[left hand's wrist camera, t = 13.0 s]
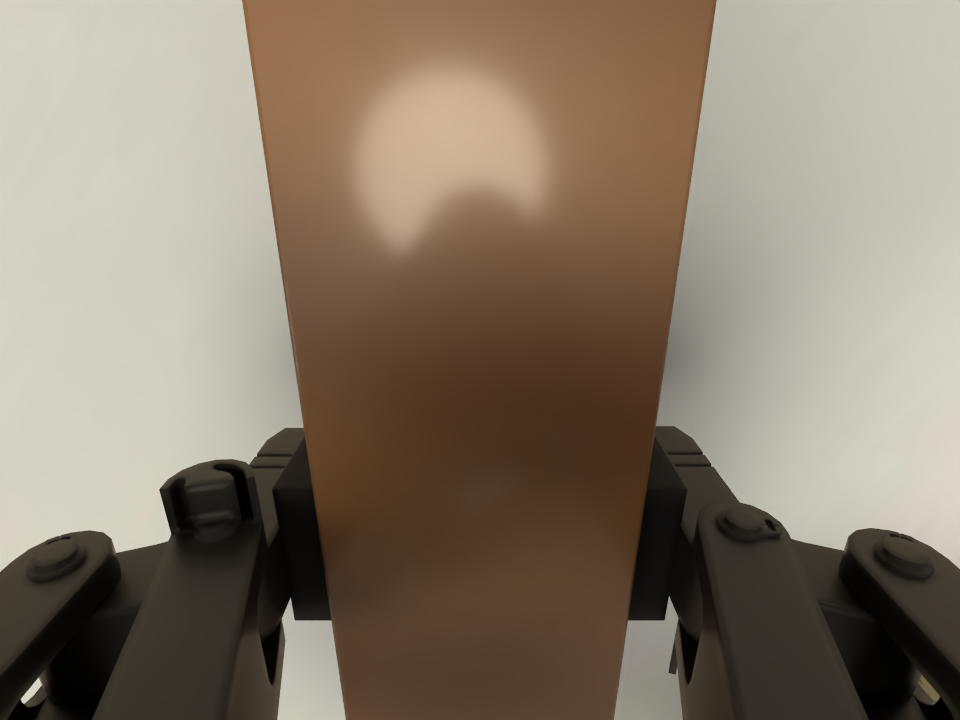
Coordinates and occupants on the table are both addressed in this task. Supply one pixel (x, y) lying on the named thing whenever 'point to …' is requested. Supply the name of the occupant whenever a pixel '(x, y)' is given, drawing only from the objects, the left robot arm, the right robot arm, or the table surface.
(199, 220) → the table surface
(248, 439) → the table surface
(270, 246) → the table surface
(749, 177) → the table surface
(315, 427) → the post
